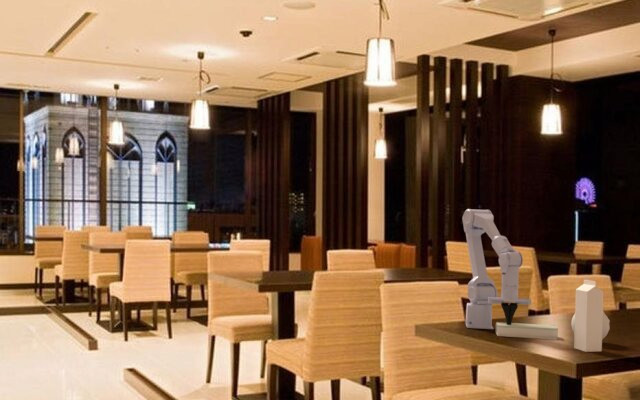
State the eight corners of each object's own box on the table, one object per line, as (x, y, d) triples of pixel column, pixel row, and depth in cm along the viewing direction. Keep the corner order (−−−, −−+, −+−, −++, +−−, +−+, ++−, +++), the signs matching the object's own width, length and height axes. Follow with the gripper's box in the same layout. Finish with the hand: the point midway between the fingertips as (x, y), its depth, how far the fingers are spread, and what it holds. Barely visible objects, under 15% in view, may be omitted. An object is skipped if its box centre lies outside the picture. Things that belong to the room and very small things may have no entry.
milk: (585, 352, 226) (587, 281, 226) (573, 348, 232) (575, 279, 232) (602, 351, 228) (604, 281, 228) (589, 347, 233) (591, 279, 234)
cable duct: (497, 335, 250) (497, 327, 250) (495, 332, 257) (495, 324, 257) (557, 339, 248) (557, 330, 248) (553, 336, 255) (554, 327, 255)
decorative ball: (612, 346, 237) (613, 310, 237) (574, 344, 239) (575, 308, 239) (604, 340, 249) (605, 305, 249) (568, 338, 251) (569, 303, 251)
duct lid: (497, 327, 250) (498, 325, 250) (495, 324, 257) (495, 322, 257) (557, 330, 248) (557, 328, 248) (554, 327, 255) (554, 325, 255)
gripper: (489, 285, 251) (488, 325, 250) (533, 287, 249) (531, 327, 248) (487, 284, 258) (486, 322, 257) (529, 286, 256) (528, 324, 255)
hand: (508, 324), depth 253 cm, fingers closed, pressing on duct lid
